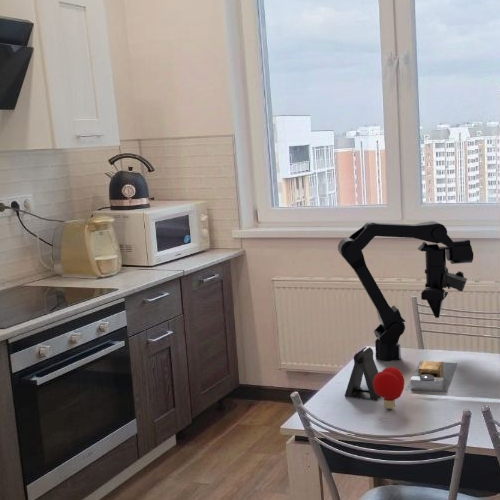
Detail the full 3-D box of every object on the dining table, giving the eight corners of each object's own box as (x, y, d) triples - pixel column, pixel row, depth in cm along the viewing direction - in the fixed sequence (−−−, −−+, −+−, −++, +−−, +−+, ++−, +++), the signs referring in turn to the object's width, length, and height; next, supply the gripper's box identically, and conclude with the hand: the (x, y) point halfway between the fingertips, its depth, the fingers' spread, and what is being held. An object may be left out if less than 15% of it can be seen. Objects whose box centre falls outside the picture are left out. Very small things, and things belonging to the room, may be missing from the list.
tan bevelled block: (418, 383, 197) (418, 368, 197) (422, 375, 204) (421, 360, 203) (440, 384, 195) (440, 369, 195) (443, 376, 202) (443, 361, 201)
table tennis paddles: (386, 401, 188) (384, 362, 187) (411, 406, 184) (410, 366, 182) (367, 413, 181) (365, 373, 180) (393, 418, 177) (391, 377, 175)
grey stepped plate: (405, 392, 193) (405, 377, 193) (420, 363, 216) (419, 350, 216) (447, 395, 190) (446, 380, 189) (457, 365, 212) (457, 351, 212)
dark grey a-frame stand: (386, 393, 194) (384, 348, 192) (377, 401, 189) (375, 355, 187) (353, 389, 199) (351, 345, 197) (344, 396, 193) (342, 351, 192)
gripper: (461, 271, 206) (462, 326, 208) (467, 259, 223) (468, 310, 225) (420, 271, 210) (421, 325, 212) (429, 259, 227) (431, 309, 230)
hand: (437, 317), depth 220 cm, fingers closed
